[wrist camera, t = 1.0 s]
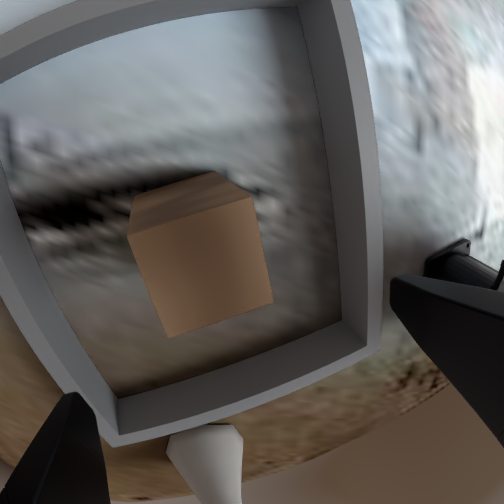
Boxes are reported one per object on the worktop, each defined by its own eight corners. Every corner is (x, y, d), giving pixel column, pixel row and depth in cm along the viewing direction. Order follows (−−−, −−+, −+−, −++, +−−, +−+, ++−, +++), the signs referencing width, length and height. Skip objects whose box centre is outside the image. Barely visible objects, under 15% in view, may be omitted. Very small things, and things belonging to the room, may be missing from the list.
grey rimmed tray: (310, -10, 14) (341, -29, 11) (354, 325, 25) (379, 350, 22) (-34, 83, 10) (-65, 79, 7) (111, 412, 21) (112, 447, 18)
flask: (242, 455, 28) (277, 536, 19) (172, 467, 26) (194, 554, 17) (241, 414, 25) (285, 512, 16) (157, 428, 23) (179, 535, 14)
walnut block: (214, 170, 17) (252, 196, 11) (232, 245, 19) (273, 302, 13) (133, 196, 16) (126, 236, 10) (159, 269, 18) (168, 338, 12)
